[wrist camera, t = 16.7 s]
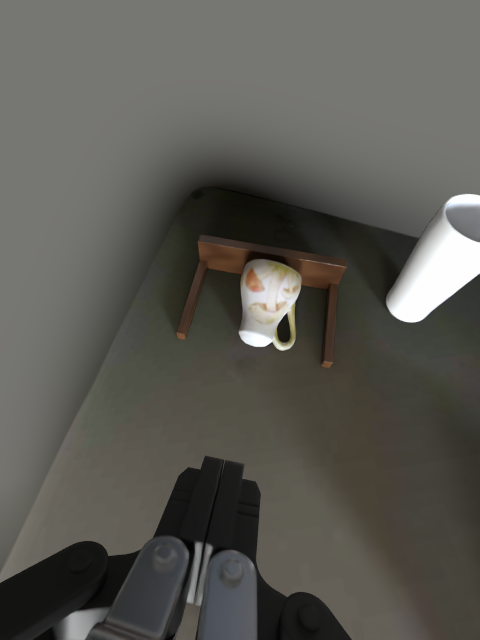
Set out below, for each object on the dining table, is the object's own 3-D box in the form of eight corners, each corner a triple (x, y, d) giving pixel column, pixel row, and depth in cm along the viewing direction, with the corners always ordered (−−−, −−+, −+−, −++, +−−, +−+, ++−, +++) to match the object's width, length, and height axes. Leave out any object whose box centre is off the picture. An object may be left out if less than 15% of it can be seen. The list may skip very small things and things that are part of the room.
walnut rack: (177, 338, 41) (171, 317, 36) (202, 260, 46) (200, 234, 42) (329, 368, 39) (342, 349, 35) (335, 283, 45) (346, 259, 41)
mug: (222, 352, 40) (217, 272, 35) (253, 314, 48) (252, 244, 43) (284, 366, 37) (288, 282, 32) (306, 324, 45) (312, 250, 40)
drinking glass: (380, 279, 46) (441, 185, 33) (432, 291, 45) (515, 201, 32) (376, 321, 43) (441, 236, 30) (431, 335, 42) (524, 255, 29)
